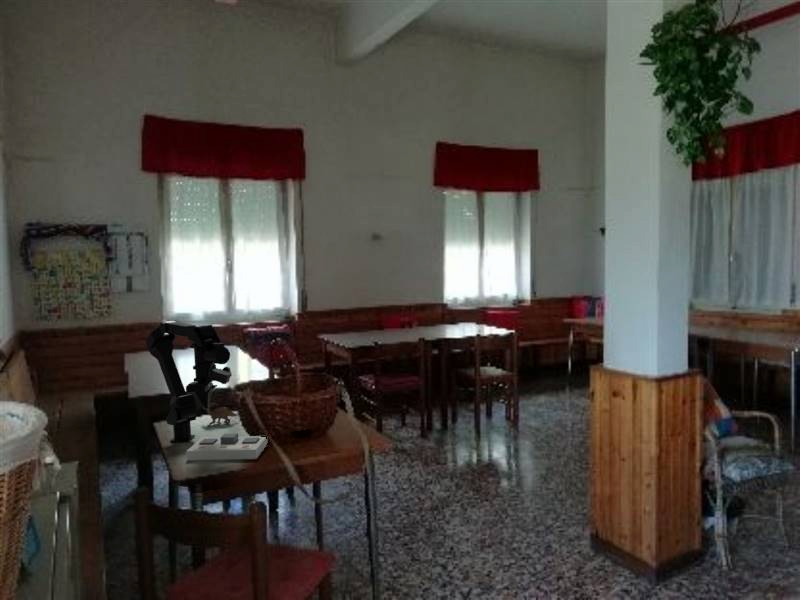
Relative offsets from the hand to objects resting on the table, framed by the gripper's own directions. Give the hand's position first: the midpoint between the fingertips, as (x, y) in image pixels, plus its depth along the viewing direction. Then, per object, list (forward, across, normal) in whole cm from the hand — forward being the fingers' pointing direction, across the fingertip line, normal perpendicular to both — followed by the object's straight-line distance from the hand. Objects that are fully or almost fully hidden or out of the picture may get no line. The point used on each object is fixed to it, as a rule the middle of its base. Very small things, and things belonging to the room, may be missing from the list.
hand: (206, 408), depth 203 cm
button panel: (+13, -7, -9) cm, 17 cm away
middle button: (+10, -6, -9) cm, 15 cm away
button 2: (+12, -6, -16) cm, 21 cm away
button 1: (+12, -6, -2) cm, 13 cm away
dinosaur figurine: (+13, +27, +5) cm, 31 cm away
